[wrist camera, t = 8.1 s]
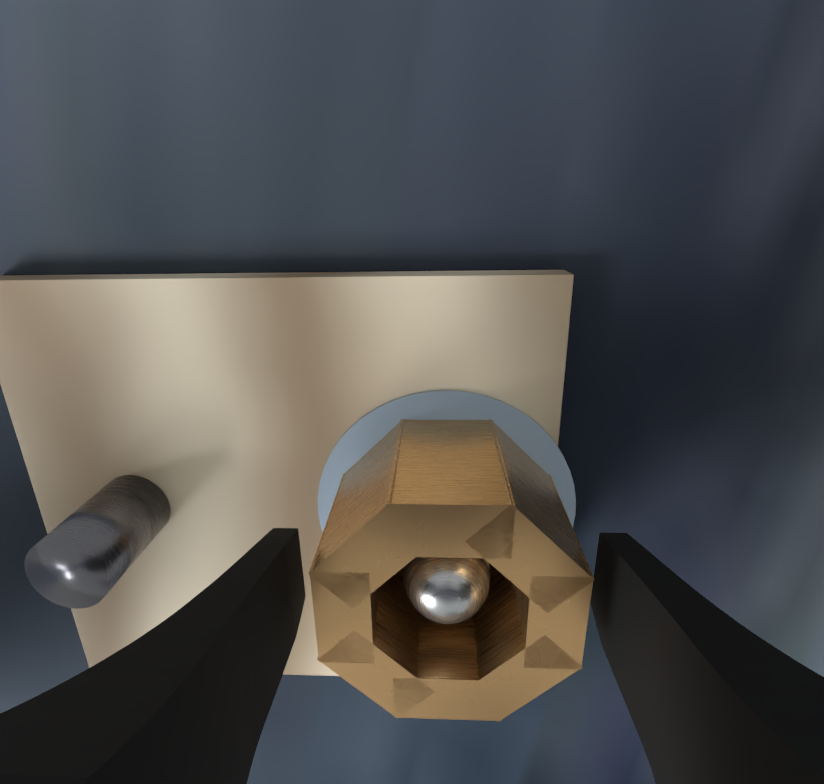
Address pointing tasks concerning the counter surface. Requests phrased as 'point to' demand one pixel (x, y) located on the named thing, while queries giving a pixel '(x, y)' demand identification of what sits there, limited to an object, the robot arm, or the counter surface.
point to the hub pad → (444, 408)
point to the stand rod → (97, 542)
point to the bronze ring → (450, 538)
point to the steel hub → (447, 587)
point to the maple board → (247, 400)
